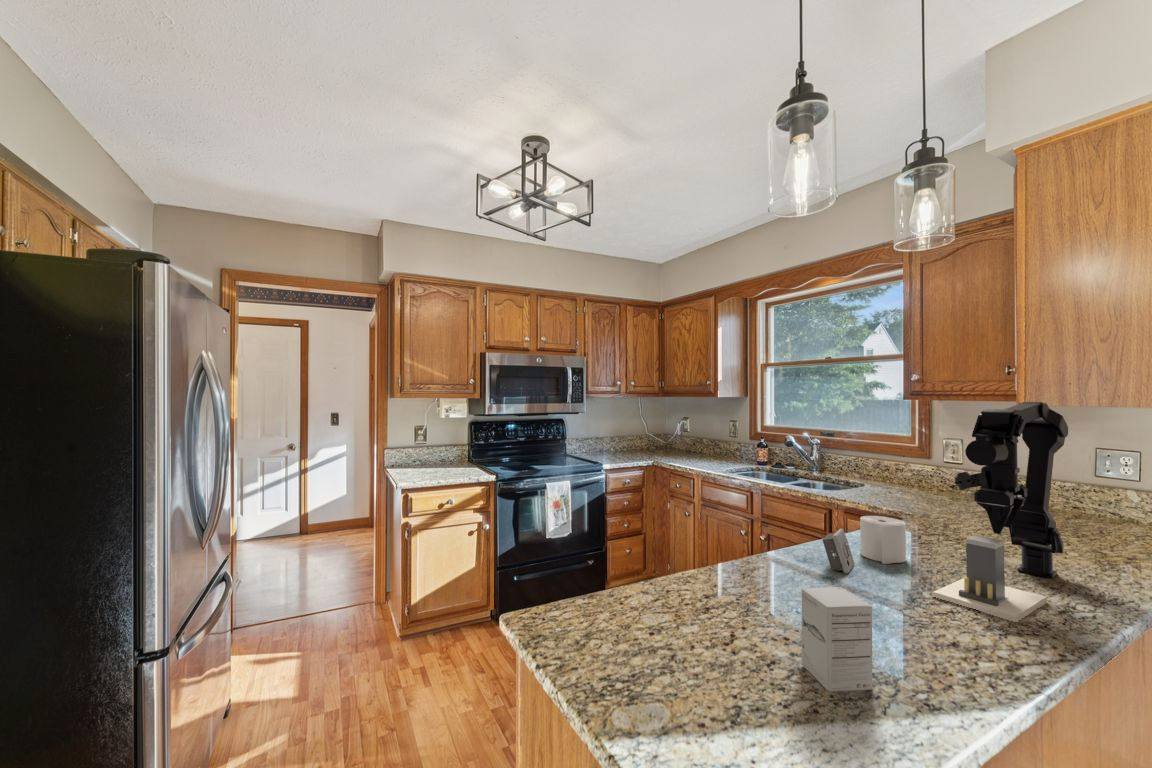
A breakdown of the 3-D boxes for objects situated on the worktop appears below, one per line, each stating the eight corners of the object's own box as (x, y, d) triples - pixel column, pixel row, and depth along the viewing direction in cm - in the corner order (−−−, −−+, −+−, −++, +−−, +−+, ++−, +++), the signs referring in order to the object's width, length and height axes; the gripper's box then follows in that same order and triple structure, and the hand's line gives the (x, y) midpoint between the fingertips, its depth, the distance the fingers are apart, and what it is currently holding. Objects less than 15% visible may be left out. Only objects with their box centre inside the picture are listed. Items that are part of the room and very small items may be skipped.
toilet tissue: (888, 550, 140) (888, 515, 140) (919, 565, 128) (919, 526, 128) (852, 550, 139) (851, 515, 140) (879, 565, 127) (879, 526, 128)
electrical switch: (848, 575, 120) (843, 536, 121) (825, 572, 123) (820, 534, 124) (855, 565, 128) (850, 529, 128) (833, 562, 131) (829, 527, 132)
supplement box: (800, 665, 79) (799, 587, 80) (843, 663, 80) (842, 585, 80) (827, 693, 72) (826, 606, 72) (874, 691, 73) (873, 605, 73)
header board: (967, 581, 117) (967, 559, 117) (1046, 602, 105) (1046, 577, 105) (933, 597, 107) (932, 573, 107) (1016, 622, 95) (1015, 595, 95)
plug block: (975, 589, 108) (975, 534, 108) (1004, 597, 104) (1003, 540, 104) (966, 594, 105) (966, 538, 106) (996, 602, 101) (995, 544, 102)
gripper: (969, 456, 126) (970, 517, 126) (946, 462, 114) (947, 529, 114) (1027, 461, 117) (1028, 526, 117) (1008, 467, 106) (1010, 540, 105)
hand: (1001, 530), depth 114 cm, fingers open, 9 cm apart
